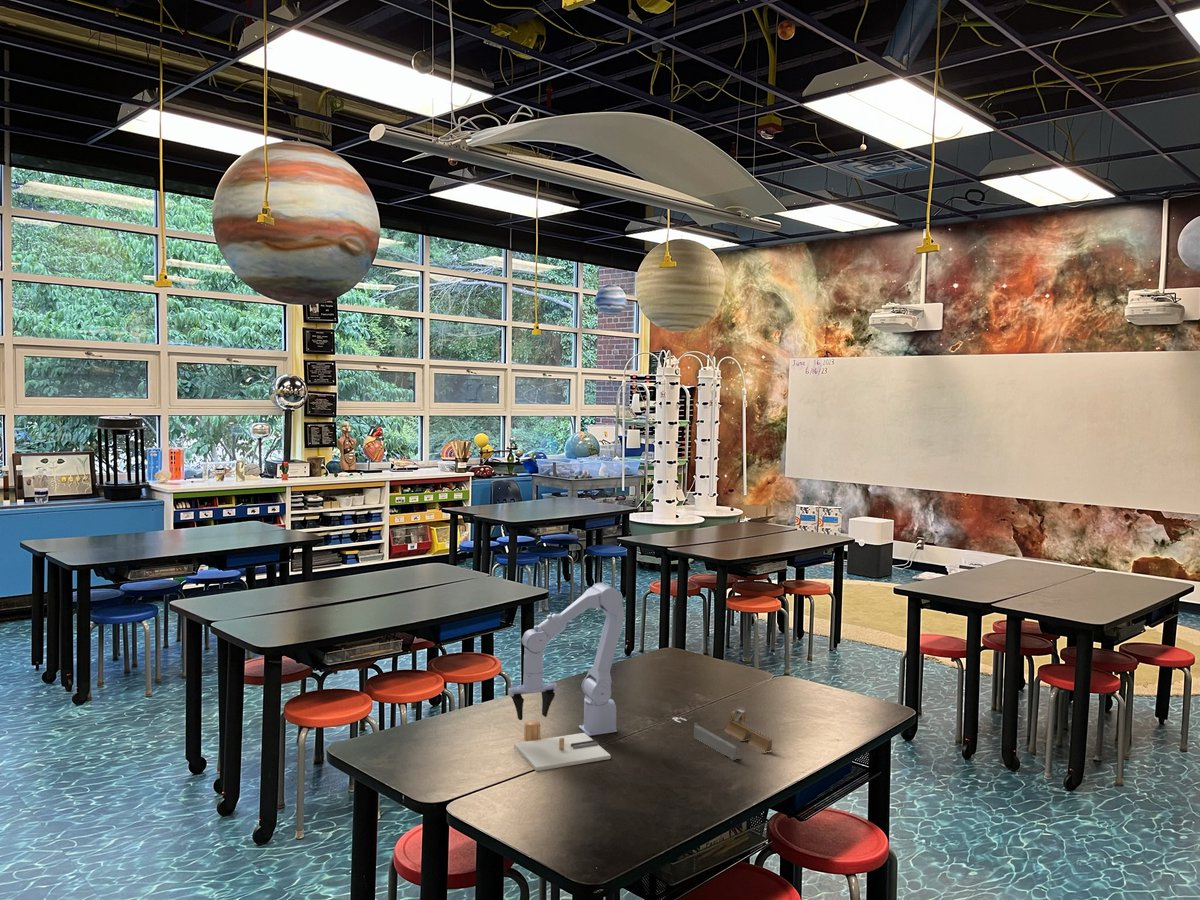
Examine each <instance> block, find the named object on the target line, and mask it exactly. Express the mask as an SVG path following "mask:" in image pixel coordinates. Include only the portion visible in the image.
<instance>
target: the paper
mask: <svg viewBox="0 0 1200 900" xmlns="http://www.w3.org/2000/svg"><path fill="white" fill-rule="evenodd" d="M671 719H672V720H673V721H675V722H677V723H678V724H679V723H681V724H682V721H680V720H683V721H688V719H685V718H682V717H681V716H680V717H678V716H676V717H675V716H674V717H672V718H671Z"/></svg>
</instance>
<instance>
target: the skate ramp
mask: <svg viewBox="0 0 1200 900" xmlns="http://www.w3.org/2000/svg"><path fill="white" fill-rule="evenodd" d="M735 714H736V715H735ZM723 731H725V732H726V733H728V734H731V735H733V736H735V737H737V738H739V739H740V740H746V739H749V741H747V743H749V744H750V745H753V746H755V747H757V748H759V749H761V750H763V751H765V752H766V751H770V750H773V749H772V747H773V746H772V745H773V743H772V738H770V737H768V736H766V735H764V734H762V731H761V730H759V729H756V730H754V729H752V728H751V725H748V723H746V708H745V707H743V706H738V709H734V710H732V711H731V713H730V716H729V719H728V721H727V725H726V727H725V728H724V730H723ZM750 733H751V734H750ZM750 735H751V736H750ZM694 738H695V740H696V739H697V740H696V741H698V740H699V741H698V742H700V741H701V742H703V743H704V744H703V743H702V744H703V745H705V744H706V745H708V746H709V747H708V746H707V747H708V748H710V747H711V748H710V749H712V748H713V749H715V750H716V751H715V750H714V751H715V752H717V751H718V752H720V753H722V754H724V755H726V756H728V757H730V758H731V759H733V760H734V759H737V758H740V757H741V756H740V755H739V754H738V751H737V750H738V744H735V745H734V744H732V743H731V742H729V741H727V740H725V739H723V738H721V737H720V736H718V735H716V734H714V733H713V732H711V731H710V730H707V729H706V728H704V727H702V726H700V725H699V724H698V722H694V724H693V739H694ZM701 742H700V743H701ZM706 745H705V746H706ZM713 749H712V750H713ZM718 752H717V753H718ZM720 753H719V754H720ZM722 754H721V755H722ZM724 755H723V756H724Z"/></svg>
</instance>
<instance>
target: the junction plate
mask: <svg viewBox="0 0 1200 900" xmlns="http://www.w3.org/2000/svg"><path fill="white" fill-rule="evenodd" d="M513 747H514V748H515V749H516V751H517V752H518V753H519V755H521V757H522V758H524V760H525V761H526V762H527V763H528V764H529V765H530V766H531V767H532V769H533V770H534V771H535V772H540V771H545V770H552V769H556V768H563V767H569V766H574V765H575V766H577V765H581V764H588V763H593V762H594V763H595V762H599V761H604V760H610V759H611V754H610V753H609V752H607V751H606V750H605V749H604V748H603V747H602V746H601V745H599V742H598V741H596V740H595V739H592V737H591V736H588V735H587V734H586V733H585V732H582V733H574V734H568V735H567V734H566V735H561V736H560V735H559V736H553V737H546V738H540V739H539V740H533V741H527V740H525V741H521V742H515V743H513Z"/></svg>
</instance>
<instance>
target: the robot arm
mask: <svg viewBox="0 0 1200 900" xmlns="http://www.w3.org/2000/svg"><path fill="white" fill-rule="evenodd" d="M623 599H624V598H623V596H622V595H621V593H620V592H619V591H618V590H617V588H614V587H611V586H609V585H607V584H606V583H604V582H596V583H595V584H593V585H592V587H589V588H587V589H586V590H585V592H583V594H582V595H580V596H579V597H578V598H577V599H576V600H575V601H574V602H572V603H571V604H570V605H568V606H567V607H566V608H565V609H564V610H563V611H561V613H552V614H548V615H546V619H544V620H543V621H542V622H540V623H539V624H538V625H537V624H535V625H534V626H533V628H531V629H528V630H526V631H525V632H524V633H523V635H522V638H521V640H520V641H521V644H522V645H523V646H524V647H523V648H524V649H523V650H524V652H523V653H524V654H523V676H522V677H523V680H522V681H523V682H522V685H517V686H513V687H508V693H507V694H508V696H509V697H511V699H512V701H513V704H514V706H515V710H516V714H517V715H516V716H517V719H518V720H519V721H523V717H524V716H523V710H524V709H523V707H524V702H525V699H524V698H523V695H528V694H529V695H530V694H536V693H537V694H538V693H541V699H542V700H541V703H542V704H541V706H542V707H541V715H542V716H543V717H544V718H546V717H548V712H549V709H550V706H551V704H552V702H553V701H554V699H555V697H556V692H557V691H558V684H557V683H556V682H544V651H545V649H546V648H547V644H548V643H549V642H551V641H552V640H554V638H555V637H557V636H558V635H560V634H561V633H562V632H563V631H565V630H566V627H567V624H568V623H569V622H571V621H572V620H574V619H575V618H577V617H578V616H579V615H581V614H583V612H585V611H587V610H588V609H601V610H602V612H603V613H604V615H605V620H604V624H603V627H602V631H601V635H600V637H599V638H600V639H599V643H598V645H597V648H596V649H597V650H596V653H595V657H594V661H593V666H592V667H590V669H589V670H588V671H587V674H586V676H585V677H584V679H583V680H582V682H581V690H582V692H583V694H584V698H583V699H584V700H583V701H584V702H583V704H584V705H583V724H582V725H581V724H579V725H578V728H579V729H580V730H581V731H582V732H583V733H585V734H587V735H588V736H589V737H591V736H598V735H605V734H610V733H617V732H618V730H617V705H616V703H615V701H614V699H612V698H611V697H612V688H611V687H612V677H611V669H612V666H613V662H614V658H615V654H616V650H617V647H618V642H619V638H620V635H621V633H622V632H621V631H622V628H623V623H624V620H625V616H626V615H625V609H624V605H623Z"/></svg>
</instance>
